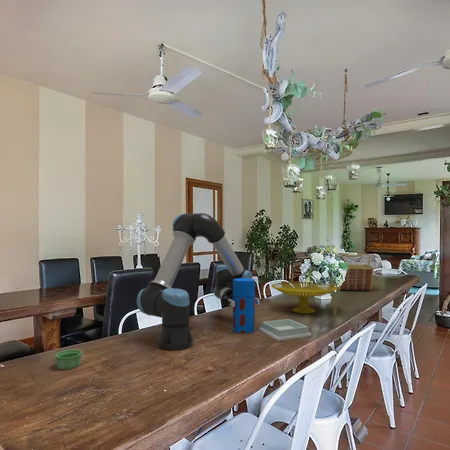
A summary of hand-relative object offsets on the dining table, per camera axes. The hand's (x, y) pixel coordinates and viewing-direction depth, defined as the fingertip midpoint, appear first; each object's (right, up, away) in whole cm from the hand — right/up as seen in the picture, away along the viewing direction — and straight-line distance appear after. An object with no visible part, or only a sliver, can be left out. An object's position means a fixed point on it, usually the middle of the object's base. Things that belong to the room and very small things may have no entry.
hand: (246, 303), depth 173 cm
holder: (+18, -14, -2) cm, 23 cm away
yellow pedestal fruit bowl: (+38, -15, +46) cm, 62 cm away
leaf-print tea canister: (-1, -14, +3) cm, 15 cm away
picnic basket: (+96, -16, +125) cm, 158 cm away
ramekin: (-68, -13, -43) cm, 82 cm away
